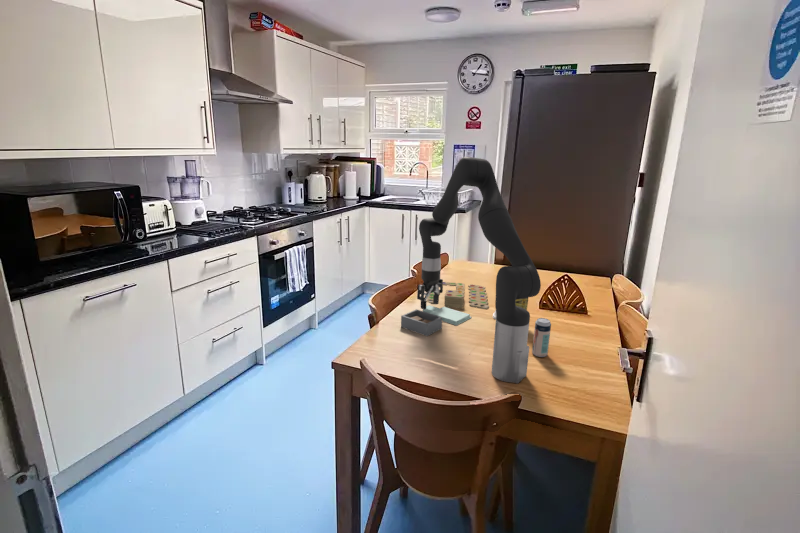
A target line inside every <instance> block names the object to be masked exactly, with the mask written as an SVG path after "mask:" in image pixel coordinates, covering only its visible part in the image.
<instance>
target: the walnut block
mask: <svg viewBox="0 0 800 533" xmlns="http://www.w3.org/2000/svg"><path fill="white" fill-rule="evenodd" d="M411 318H412V319H415V320H418V321H421V322H422V321H423V319H422V318H420V317H418V316H415V317H411Z"/></svg>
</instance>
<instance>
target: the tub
mask: <svg viewBox="0 0 800 533" xmlns="http://www.w3.org/2000/svg"><path fill="white" fill-rule="evenodd" d="M415 316H418V317H420V318H422V319H423V320H430V321H431V322H429V323H424V322H421V321H418V320H415V319H412V318H411V317H415ZM400 320H401V321H400V327H401V328H403V329H406V330H408V331H411V332H413V333H414V332H415V333H416V334H420V335H423V336H425V337H428V336H430V335H432V334H434V333H436V332H437V331H440V330H442V327H443V321H442V317H439V316H436V315H433V314H430V313H428V312H424V311H423V310H420V309H417V308H416V309H413V310H412V311H409V312H406V313H404V314H401V316H400Z"/></svg>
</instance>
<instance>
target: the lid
mask: <svg viewBox="0 0 800 533" xmlns="http://www.w3.org/2000/svg"><path fill="white" fill-rule="evenodd" d="M422 311H423V312H427V313H430V314H433V315H436V316H439V317H442V322H444V323H447V324H450V325H454V326H456V327H457V326H459V325H460V324H463V323H464V322H466V321H468V320H471V319H472V316H471V314H469V313H467V312H463V311H459V310H456V309H453V308H451V307H445V306H442V307H436V306H433V305H426V309H425V310H424V309H422Z"/></svg>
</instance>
